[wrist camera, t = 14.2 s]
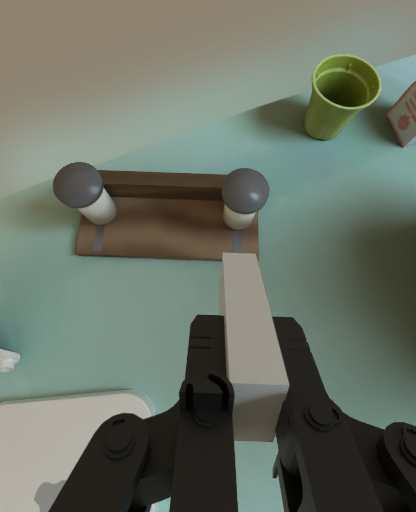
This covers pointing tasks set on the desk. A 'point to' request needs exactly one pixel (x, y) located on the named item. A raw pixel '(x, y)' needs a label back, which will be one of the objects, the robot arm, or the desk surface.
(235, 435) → the robot arm
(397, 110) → the gable top carton
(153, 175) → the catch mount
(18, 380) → the desk surface
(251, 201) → the knob
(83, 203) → the knob
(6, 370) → the mounting bracket
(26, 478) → the computer
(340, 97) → the plant pot
